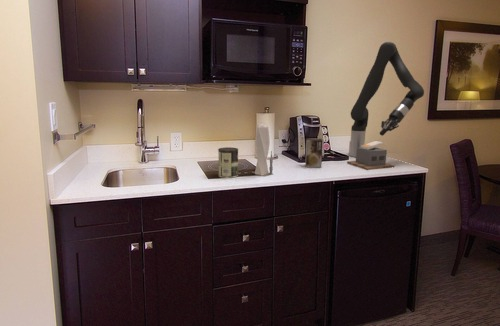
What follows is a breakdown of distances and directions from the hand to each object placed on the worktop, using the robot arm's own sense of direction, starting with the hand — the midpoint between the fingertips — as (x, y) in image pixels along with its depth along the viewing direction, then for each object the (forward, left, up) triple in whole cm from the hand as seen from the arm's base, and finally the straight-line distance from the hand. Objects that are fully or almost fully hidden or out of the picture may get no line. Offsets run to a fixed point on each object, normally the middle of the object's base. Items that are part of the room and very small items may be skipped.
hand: (381, 134), depth 217 cm
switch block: (0, -6, -17) cm, 18 cm away
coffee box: (-9, -40, -18) cm, 45 cm away
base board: (0, -6, -18) cm, 19 cm away
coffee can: (-4, -94, -18) cm, 96 cm away
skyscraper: (-1, -76, -19) cm, 78 cm away
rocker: (0, -6, -6) cm, 9 cm away
